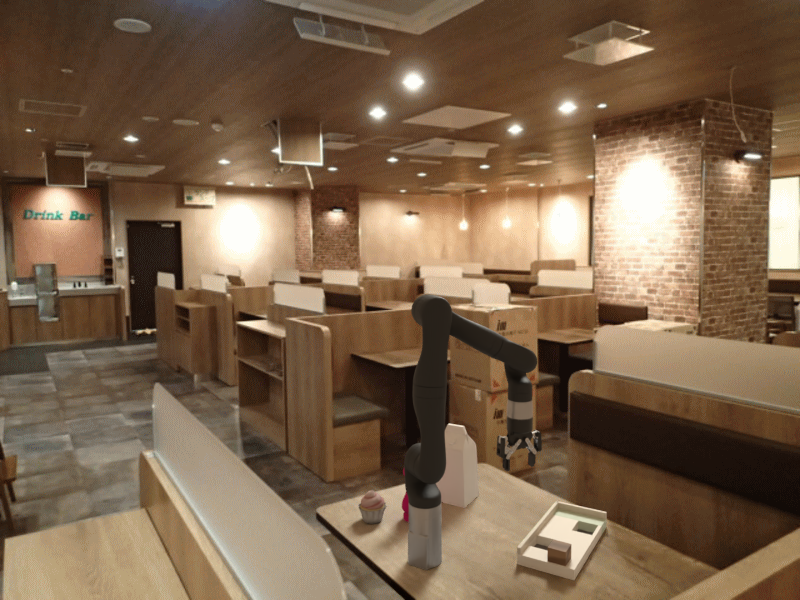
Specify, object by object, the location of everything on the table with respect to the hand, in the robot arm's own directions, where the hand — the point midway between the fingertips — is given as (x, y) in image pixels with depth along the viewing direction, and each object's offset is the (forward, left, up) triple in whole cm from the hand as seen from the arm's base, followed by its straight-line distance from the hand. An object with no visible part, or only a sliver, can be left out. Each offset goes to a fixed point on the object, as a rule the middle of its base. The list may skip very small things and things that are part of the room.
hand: (519, 468), depth 184 cm
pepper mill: (-3, +35, -23) cm, 42 cm away
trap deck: (+5, -12, -23) cm, 26 cm away
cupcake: (-10, +46, -23) cm, 52 cm away
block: (-9, -15, -20) cm, 27 cm away
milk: (+18, +30, -23) cm, 41 cm away
